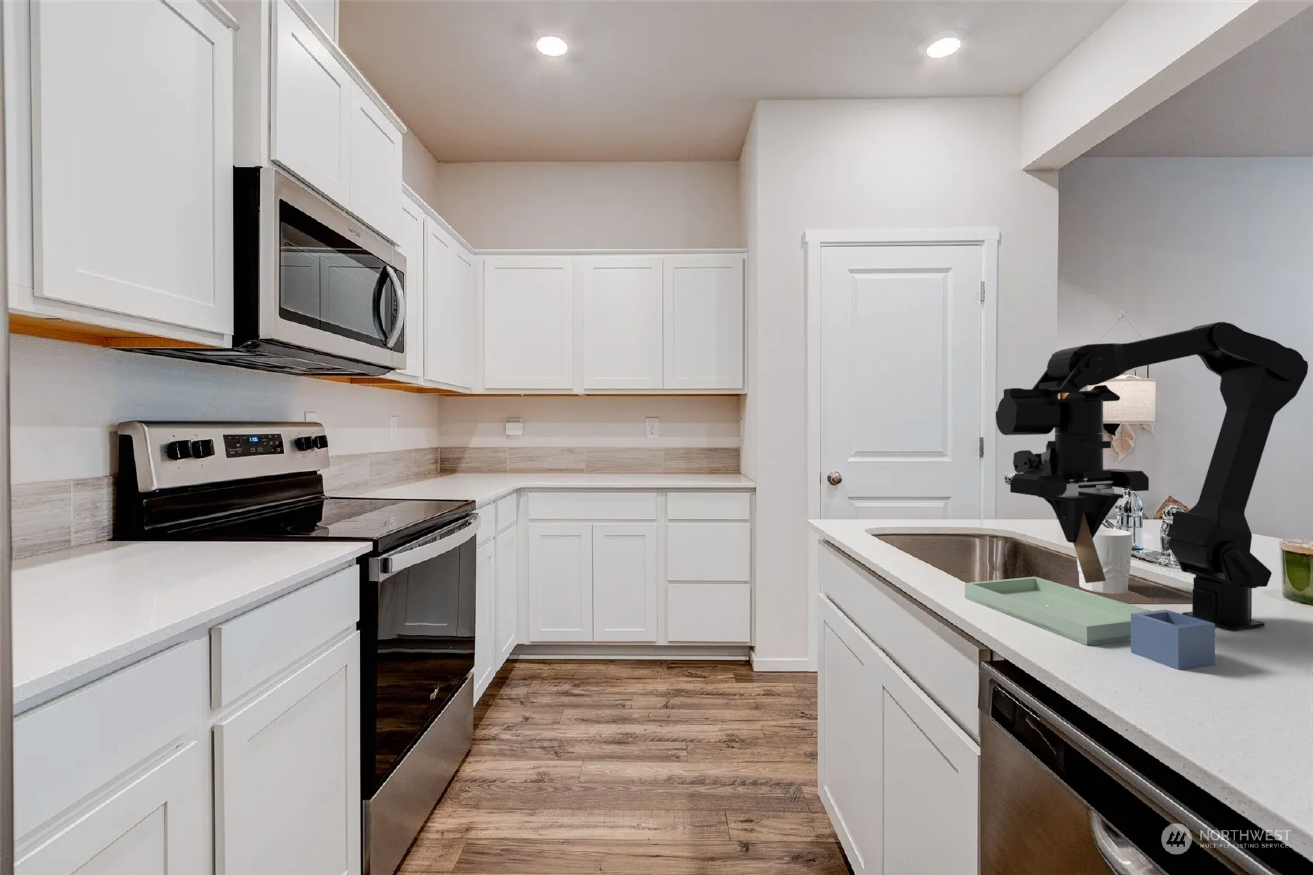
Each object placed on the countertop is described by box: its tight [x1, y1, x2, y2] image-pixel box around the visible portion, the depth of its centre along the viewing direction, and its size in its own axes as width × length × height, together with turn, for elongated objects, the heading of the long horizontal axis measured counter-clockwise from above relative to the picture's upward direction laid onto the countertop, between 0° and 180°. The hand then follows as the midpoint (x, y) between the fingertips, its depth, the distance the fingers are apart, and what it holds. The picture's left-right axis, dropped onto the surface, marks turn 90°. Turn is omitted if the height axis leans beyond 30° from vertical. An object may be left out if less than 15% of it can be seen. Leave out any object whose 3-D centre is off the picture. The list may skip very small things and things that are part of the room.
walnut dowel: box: [1072, 513, 1106, 583], centre depth 86 cm, size 2×6×10 cm, turn 13°
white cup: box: [1076, 527, 1133, 595], centre depth 103 cm, size 8×8×10 cm
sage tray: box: [964, 576, 1151, 646], centre depth 91 cm, size 14×22×2 cm, turn 13°
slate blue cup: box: [1130, 609, 1216, 670], centre depth 74 cm, size 6×6×5 cm
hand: (1079, 541), depth 87 cm, fingers closed on walnut dowel, 2 cm apart
